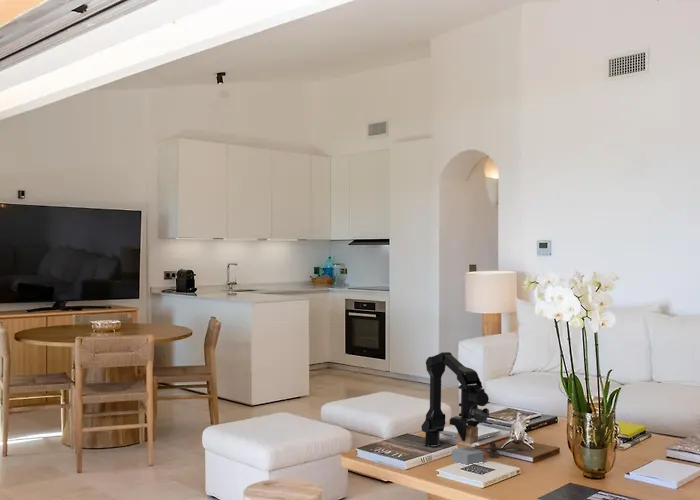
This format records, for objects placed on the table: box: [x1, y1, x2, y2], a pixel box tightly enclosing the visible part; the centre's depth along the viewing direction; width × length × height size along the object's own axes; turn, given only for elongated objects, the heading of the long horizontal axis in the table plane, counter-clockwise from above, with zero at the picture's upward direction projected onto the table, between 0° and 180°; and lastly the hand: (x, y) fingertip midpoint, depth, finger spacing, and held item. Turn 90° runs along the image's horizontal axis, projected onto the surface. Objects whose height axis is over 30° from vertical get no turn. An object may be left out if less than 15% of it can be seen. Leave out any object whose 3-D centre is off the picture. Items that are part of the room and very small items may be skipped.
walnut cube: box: [456, 425, 479, 446], centre depth 291 cm, size 6×6×6 cm
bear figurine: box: [471, 441, 512, 459], centre depth 304 cm, size 18×4×14 cm
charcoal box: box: [451, 446, 484, 465], centre depth 291 cm, size 9×9×5 cm
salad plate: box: [440, 424, 502, 440], centre depth 333 cm, size 21×21×3 cm
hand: (467, 439), depth 291 cm, fingers closed on walnut cube, 6 cm apart
